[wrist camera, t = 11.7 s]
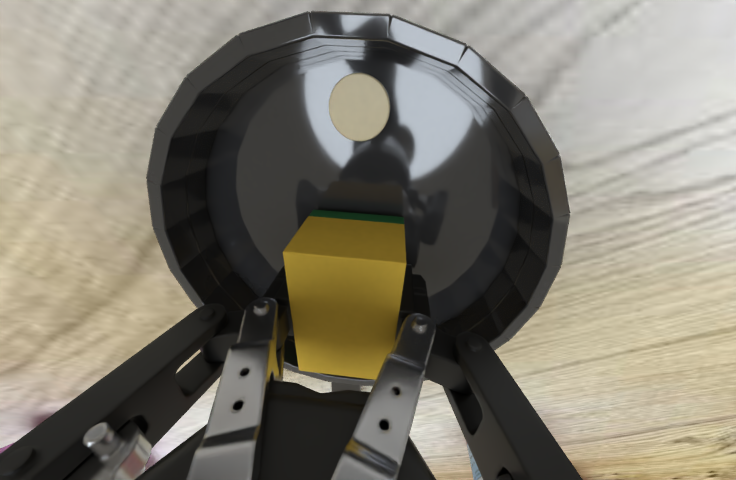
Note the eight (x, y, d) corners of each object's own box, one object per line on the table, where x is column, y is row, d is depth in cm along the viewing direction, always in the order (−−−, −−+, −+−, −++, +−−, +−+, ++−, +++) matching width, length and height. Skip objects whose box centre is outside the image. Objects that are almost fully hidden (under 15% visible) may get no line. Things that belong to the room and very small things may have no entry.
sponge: (312, 208, 13) (281, 251, 9) (403, 216, 13) (406, 263, 9) (319, 312, 16) (298, 370, 13) (390, 319, 16) (389, 381, 13)
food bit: (331, 72, 10) (327, 70, 10) (392, 75, 10) (392, 74, 9) (333, 136, 12) (329, 139, 11) (387, 140, 11) (387, 143, 11)
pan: (154, 25, 11) (58, 0, 8) (595, 45, 10) (686, 24, 7) (238, 323, 19) (208, 367, 16) (476, 350, 18) (492, 402, 15)
